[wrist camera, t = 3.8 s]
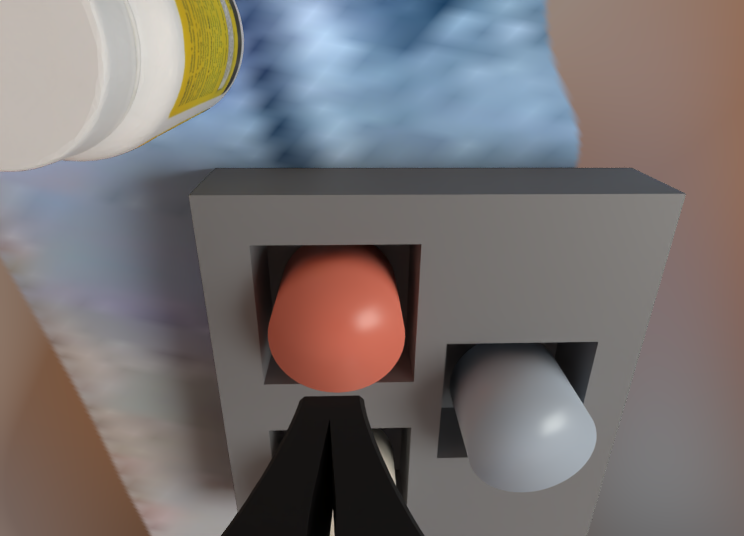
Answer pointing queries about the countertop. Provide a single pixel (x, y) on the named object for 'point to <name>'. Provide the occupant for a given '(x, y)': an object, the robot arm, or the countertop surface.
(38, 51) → the supplement bottle
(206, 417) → the countertop surface
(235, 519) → the robot arm
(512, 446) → the button slate
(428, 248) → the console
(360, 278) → the button red
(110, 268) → the countertop surface
